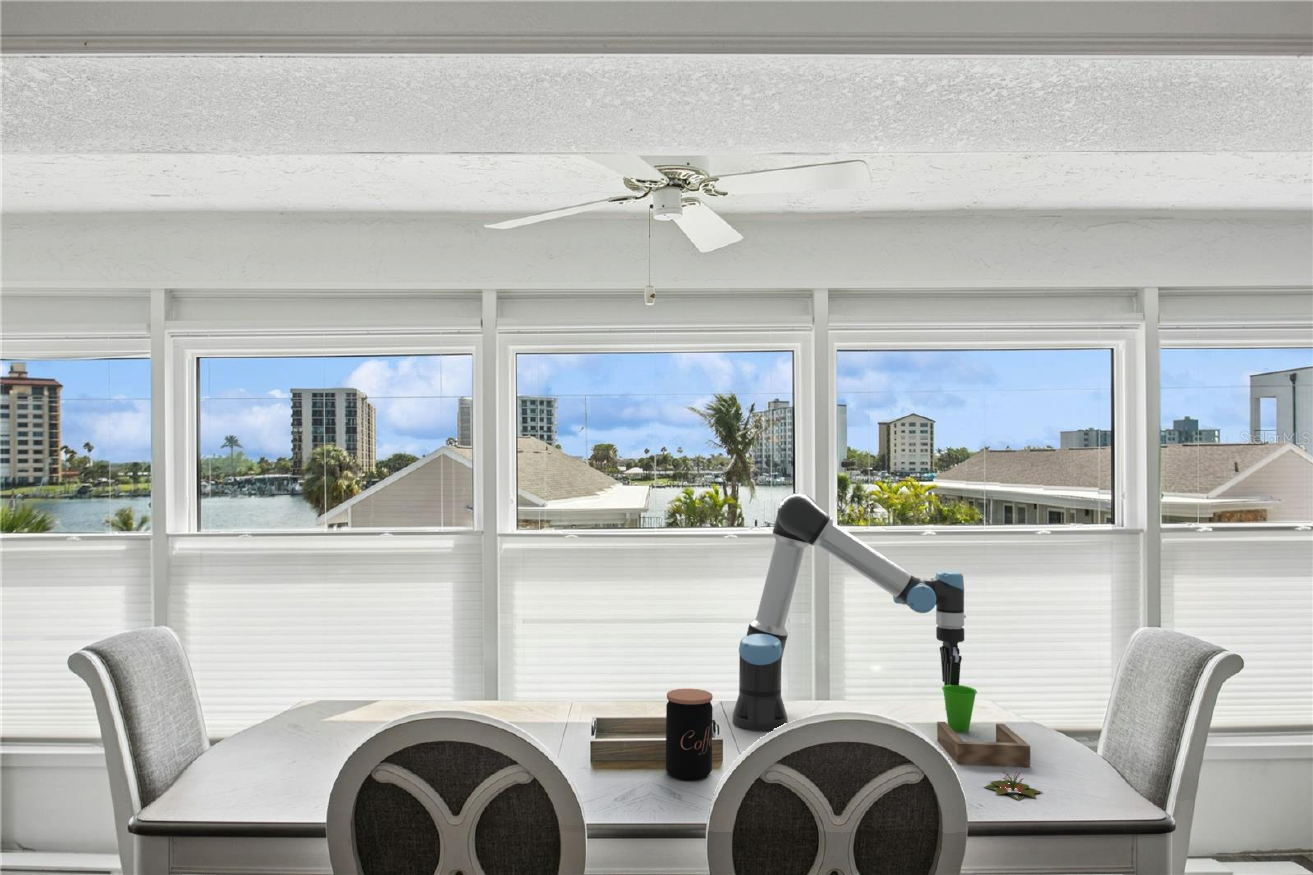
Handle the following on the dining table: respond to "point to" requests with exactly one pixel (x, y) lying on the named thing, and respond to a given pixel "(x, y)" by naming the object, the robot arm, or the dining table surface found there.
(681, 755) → the coffee jar
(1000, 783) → the lily flower
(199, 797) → the dining table surface
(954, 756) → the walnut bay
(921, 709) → the dining table surface
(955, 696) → the cup
